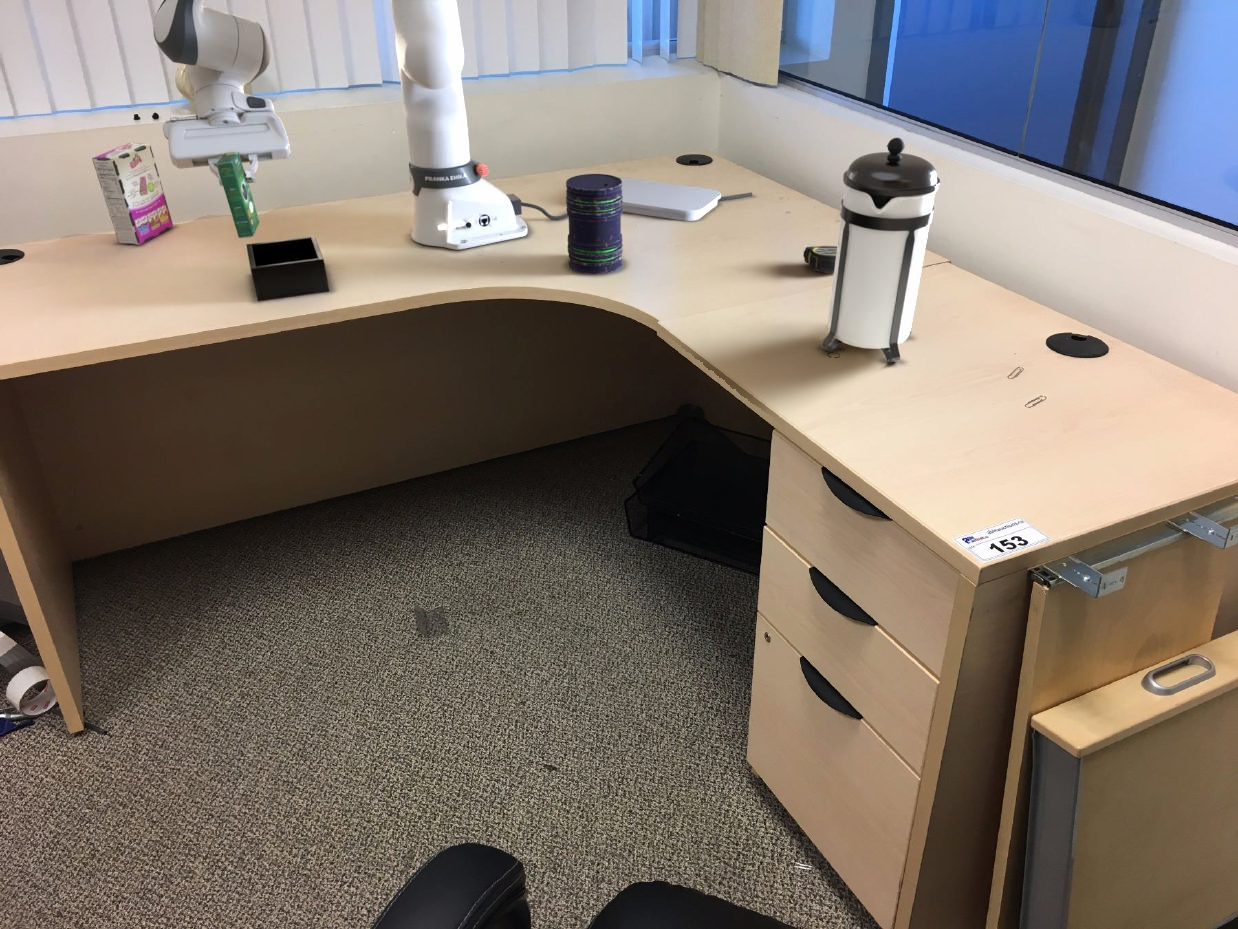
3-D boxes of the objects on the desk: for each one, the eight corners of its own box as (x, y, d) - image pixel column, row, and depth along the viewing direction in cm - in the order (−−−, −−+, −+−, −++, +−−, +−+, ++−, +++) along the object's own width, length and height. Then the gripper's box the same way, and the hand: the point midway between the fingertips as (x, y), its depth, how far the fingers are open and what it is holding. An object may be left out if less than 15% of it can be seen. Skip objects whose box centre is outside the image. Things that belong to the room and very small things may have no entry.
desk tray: (320, 266, 169) (315, 235, 166) (329, 291, 159) (323, 259, 156) (253, 275, 166) (246, 244, 163) (257, 301, 156) (250, 268, 153)
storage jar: (556, 265, 169) (553, 181, 161) (594, 251, 175) (593, 170, 167) (596, 279, 164) (594, 193, 156) (634, 264, 170) (634, 181, 162)
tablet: (696, 223, 189) (697, 212, 187) (582, 206, 198) (581, 195, 197) (724, 201, 201) (725, 190, 200) (615, 186, 211) (615, 176, 209)
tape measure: (839, 262, 170) (841, 242, 168) (850, 276, 164) (852, 255, 162) (802, 263, 170) (804, 243, 168) (811, 277, 164) (814, 256, 162)
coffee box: (244, 224, 173) (222, 151, 165) (260, 222, 173) (239, 149, 166) (237, 238, 166) (214, 164, 159) (254, 236, 166) (232, 162, 159)
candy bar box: (152, 225, 189) (128, 141, 180) (174, 227, 188) (152, 142, 179) (116, 244, 180) (90, 156, 171) (139, 245, 179) (114, 158, 170)
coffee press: (943, 356, 137) (986, 146, 121) (845, 371, 134) (875, 155, 117) (883, 311, 151) (913, 117, 135) (792, 323, 148) (812, 125, 131)
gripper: (157, 107, 163) (171, 179, 161) (280, 98, 169) (295, 167, 167) (164, 128, 169) (178, 197, 166) (282, 119, 175) (297, 185, 173)
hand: (237, 182), depth 167 cm, fingers closed on coffee box, 3 cm apart
